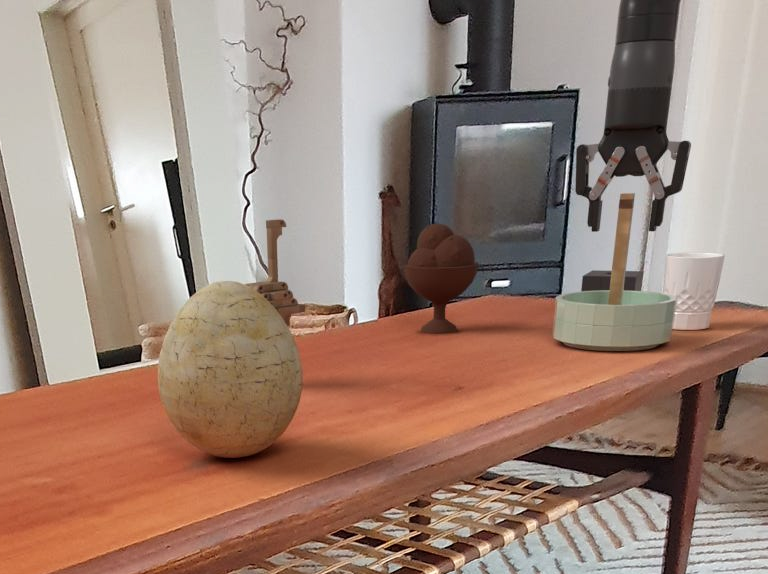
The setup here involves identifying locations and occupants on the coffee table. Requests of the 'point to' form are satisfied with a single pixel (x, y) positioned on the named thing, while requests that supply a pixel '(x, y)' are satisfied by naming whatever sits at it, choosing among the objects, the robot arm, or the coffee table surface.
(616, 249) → the stirring stick
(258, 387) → the fossilized egg
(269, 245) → the wooden hook post
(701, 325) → the white cup
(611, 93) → the robot arm
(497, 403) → the coffee table surface
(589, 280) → the utensil holder
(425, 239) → the ice cream bowl
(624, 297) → the mixing bowl
